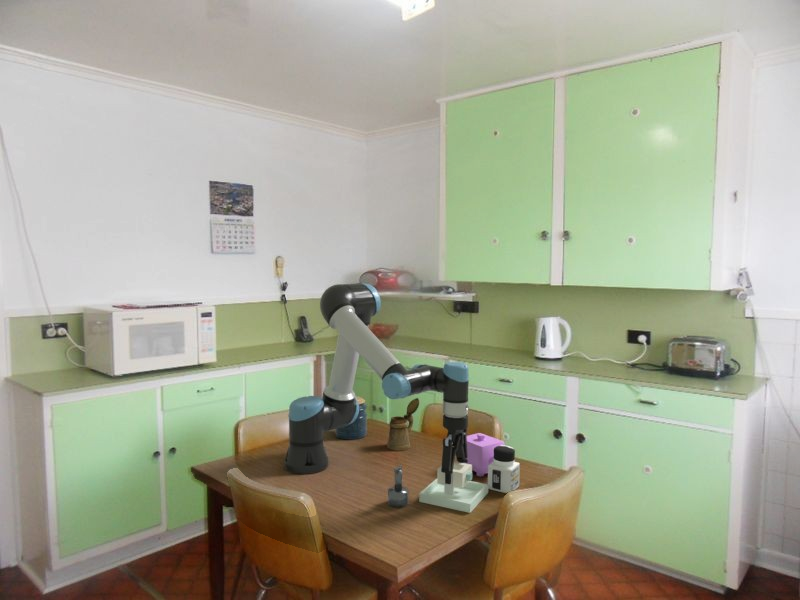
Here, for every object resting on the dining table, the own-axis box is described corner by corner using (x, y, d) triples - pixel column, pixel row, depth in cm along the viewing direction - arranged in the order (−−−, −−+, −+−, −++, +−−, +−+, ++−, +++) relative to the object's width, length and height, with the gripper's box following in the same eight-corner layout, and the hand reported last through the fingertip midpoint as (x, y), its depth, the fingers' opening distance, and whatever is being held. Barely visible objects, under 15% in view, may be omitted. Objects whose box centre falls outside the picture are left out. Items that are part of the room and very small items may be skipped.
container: (510, 494, 176) (511, 453, 175) (487, 489, 180) (487, 448, 179) (519, 486, 183) (520, 446, 182) (496, 481, 187) (497, 441, 186)
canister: (369, 430, 240) (369, 389, 239) (364, 440, 227) (364, 396, 226) (338, 429, 241) (338, 388, 240) (332, 439, 229) (331, 395, 227)
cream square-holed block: (437, 483, 172) (437, 468, 172) (447, 474, 179) (447, 460, 179) (466, 489, 168) (466, 474, 168) (475, 479, 175) (475, 465, 175)
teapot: (453, 466, 200) (453, 430, 199) (474, 460, 206) (475, 426, 205) (493, 484, 184) (494, 446, 183) (515, 477, 190) (516, 440, 189)
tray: (419, 501, 171) (419, 493, 171) (440, 483, 185) (440, 475, 185) (470, 512, 163) (470, 504, 163) (488, 492, 178) (488, 484, 177)
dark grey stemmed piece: (384, 505, 168) (384, 469, 167) (393, 497, 174) (394, 462, 173) (402, 509, 165) (402, 472, 165) (411, 501, 171) (412, 466, 170)
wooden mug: (424, 446, 221) (425, 400, 220) (394, 452, 214) (394, 404, 213) (412, 440, 229) (412, 395, 227) (382, 445, 221) (382, 399, 220)
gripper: (454, 425, 161) (453, 503, 163) (479, 408, 180) (477, 479, 182) (429, 421, 165) (429, 498, 167) (456, 405, 183) (455, 474, 185)
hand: (454, 488), depth 174 cm, fingers closed on cream square-holed block, 8 cm apart
